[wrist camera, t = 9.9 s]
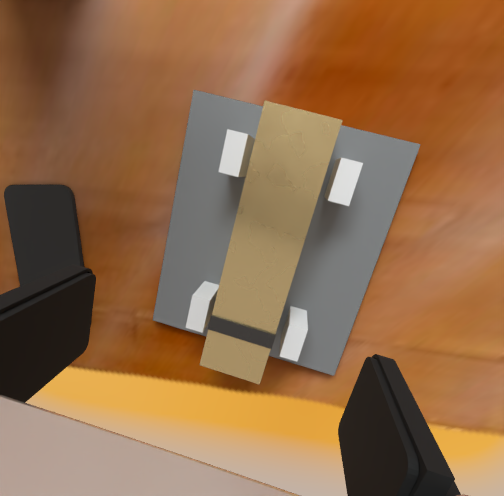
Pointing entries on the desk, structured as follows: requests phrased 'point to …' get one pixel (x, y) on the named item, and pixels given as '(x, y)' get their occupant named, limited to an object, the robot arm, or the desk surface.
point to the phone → (43, 229)
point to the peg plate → (316, 242)
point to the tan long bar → (268, 237)
